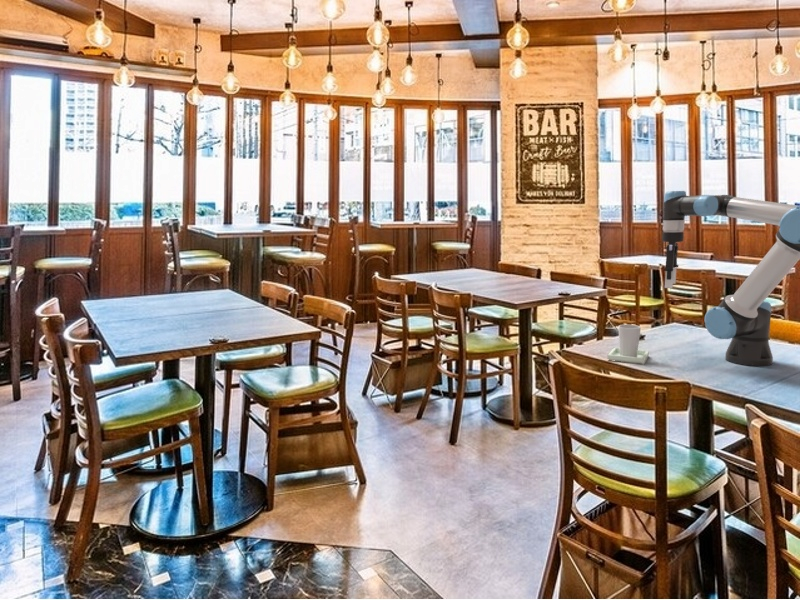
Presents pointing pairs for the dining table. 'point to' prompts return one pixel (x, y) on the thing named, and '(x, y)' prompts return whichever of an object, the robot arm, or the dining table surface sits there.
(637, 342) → the cup
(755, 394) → the dining table surface
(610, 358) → the tray
